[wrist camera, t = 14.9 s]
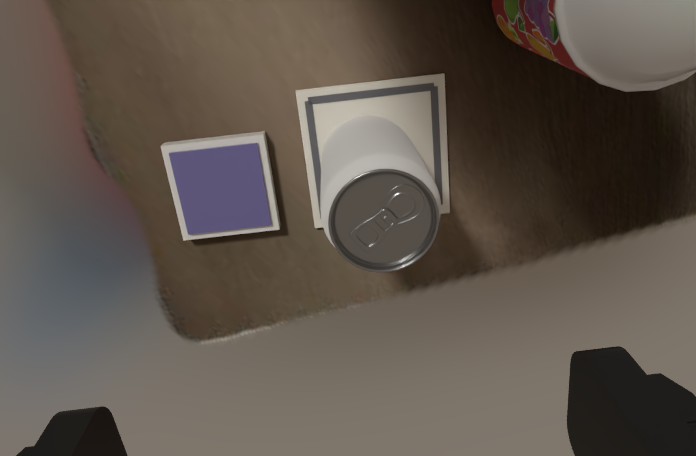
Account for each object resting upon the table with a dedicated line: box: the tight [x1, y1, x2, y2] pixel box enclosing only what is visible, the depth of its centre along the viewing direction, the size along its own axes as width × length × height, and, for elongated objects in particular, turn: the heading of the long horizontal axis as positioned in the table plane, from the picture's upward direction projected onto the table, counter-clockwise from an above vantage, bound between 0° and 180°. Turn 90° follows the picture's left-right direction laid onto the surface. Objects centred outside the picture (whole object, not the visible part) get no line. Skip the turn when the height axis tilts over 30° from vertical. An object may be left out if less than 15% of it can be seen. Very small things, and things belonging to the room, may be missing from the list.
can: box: [320, 115, 441, 272], centre depth 33 cm, size 6×6×12 cm
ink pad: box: [161, 131, 281, 240], centre depth 39 cm, size 7×7×1 cm
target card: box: [296, 73, 450, 228], centre depth 39 cm, size 10×10×1 cm
